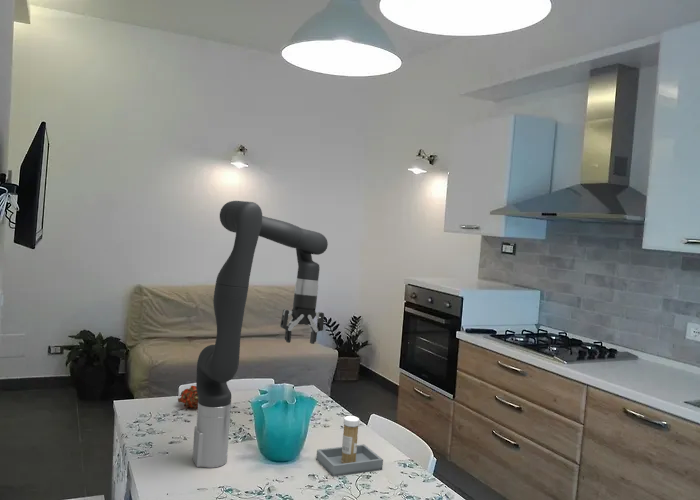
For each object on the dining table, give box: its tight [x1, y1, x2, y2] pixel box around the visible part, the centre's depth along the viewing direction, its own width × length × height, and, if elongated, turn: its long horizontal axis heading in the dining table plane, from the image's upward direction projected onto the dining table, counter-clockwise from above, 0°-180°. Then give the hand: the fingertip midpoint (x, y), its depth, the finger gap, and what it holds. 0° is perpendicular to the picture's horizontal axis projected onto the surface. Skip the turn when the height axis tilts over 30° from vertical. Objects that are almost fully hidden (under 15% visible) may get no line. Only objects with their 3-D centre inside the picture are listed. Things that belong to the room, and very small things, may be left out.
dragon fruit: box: [177, 385, 198, 410], centre depth 212 cm, size 8×8×12 cm
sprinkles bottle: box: [341, 415, 360, 463], centre depth 172 cm, size 5×5×13 cm
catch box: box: [315, 444, 384, 477], centre depth 172 cm, size 16×12×3 cm
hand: (300, 342), depth 190 cm, fingers open, 8 cm apart
